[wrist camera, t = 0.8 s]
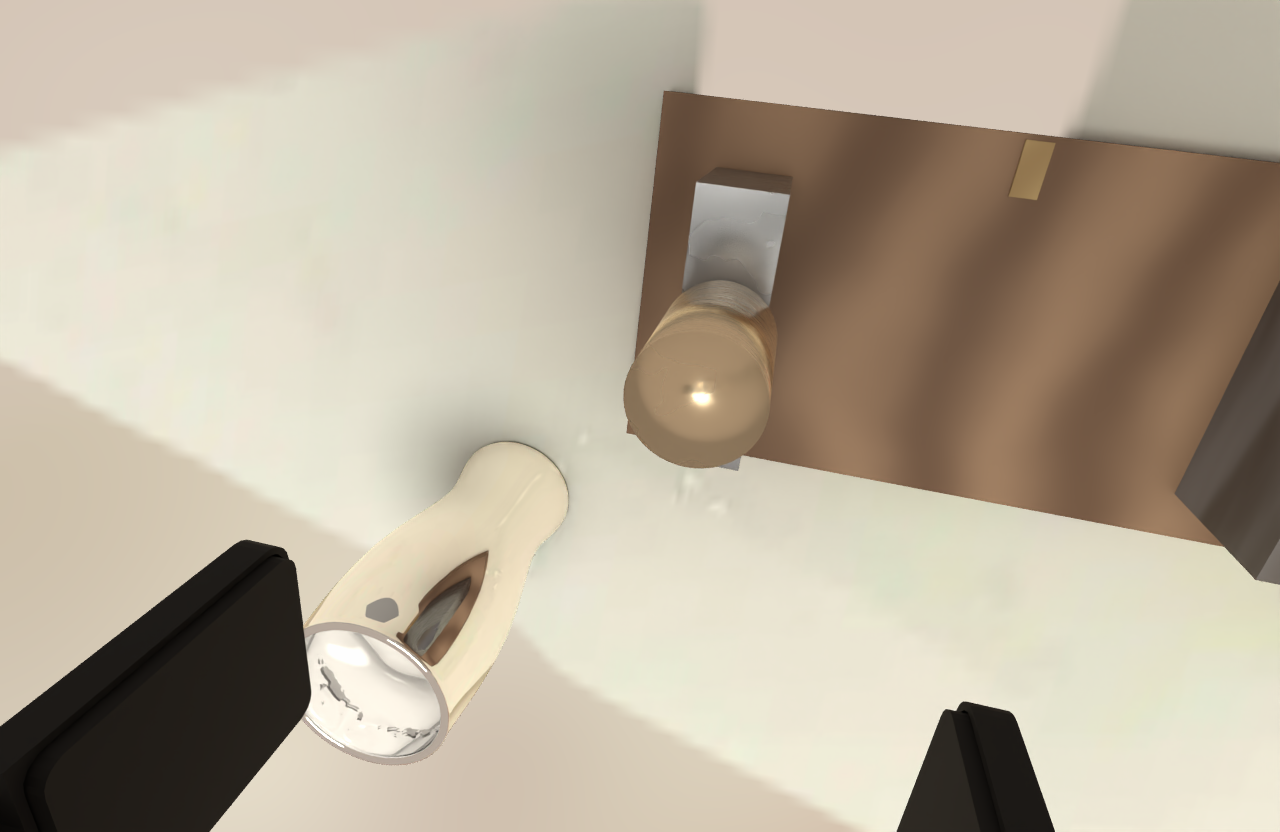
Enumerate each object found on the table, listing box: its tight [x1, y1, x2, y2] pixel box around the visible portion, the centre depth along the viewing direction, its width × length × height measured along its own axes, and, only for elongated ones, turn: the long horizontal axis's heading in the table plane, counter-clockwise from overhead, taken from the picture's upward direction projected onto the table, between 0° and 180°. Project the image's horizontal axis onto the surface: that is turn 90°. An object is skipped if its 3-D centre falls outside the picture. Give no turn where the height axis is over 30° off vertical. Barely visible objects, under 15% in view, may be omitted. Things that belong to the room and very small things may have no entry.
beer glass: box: [301, 442, 568, 765], centre depth 32 cm, size 7×7×15 cm
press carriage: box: [624, 167, 793, 471], centre depth 25 cm, size 4×10×12 cm, turn 174°
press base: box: [627, 91, 1280, 585], centre depth 27 cm, size 28×15×8 cm, turn 84°
